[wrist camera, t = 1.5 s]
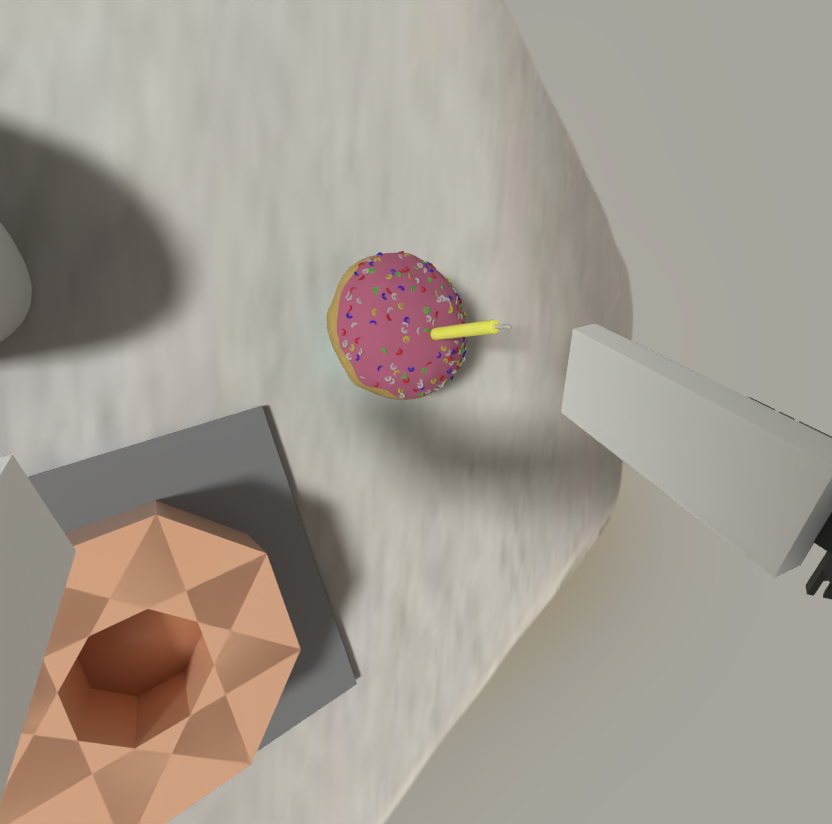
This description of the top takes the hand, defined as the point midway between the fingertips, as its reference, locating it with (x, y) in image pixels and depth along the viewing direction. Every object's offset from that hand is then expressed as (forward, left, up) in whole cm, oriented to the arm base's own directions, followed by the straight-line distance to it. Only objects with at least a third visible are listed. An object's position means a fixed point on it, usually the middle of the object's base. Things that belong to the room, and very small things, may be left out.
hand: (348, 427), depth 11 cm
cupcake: (-3, +10, -17) cm, 20 cm away
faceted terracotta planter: (+8, -7, -16) cm, 20 cm away
